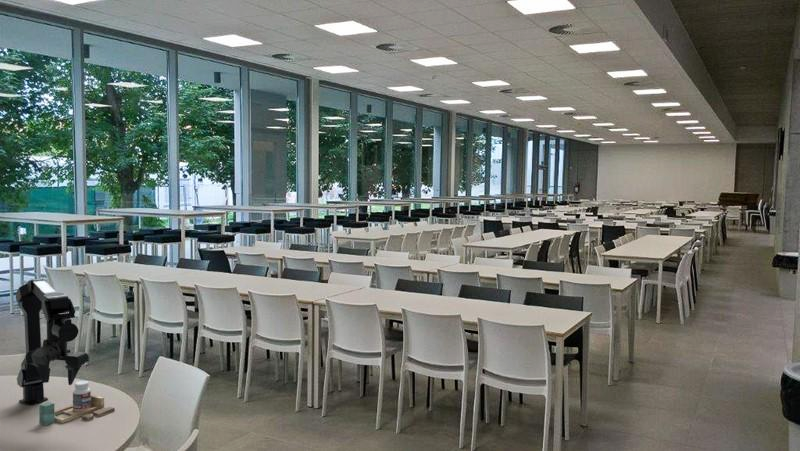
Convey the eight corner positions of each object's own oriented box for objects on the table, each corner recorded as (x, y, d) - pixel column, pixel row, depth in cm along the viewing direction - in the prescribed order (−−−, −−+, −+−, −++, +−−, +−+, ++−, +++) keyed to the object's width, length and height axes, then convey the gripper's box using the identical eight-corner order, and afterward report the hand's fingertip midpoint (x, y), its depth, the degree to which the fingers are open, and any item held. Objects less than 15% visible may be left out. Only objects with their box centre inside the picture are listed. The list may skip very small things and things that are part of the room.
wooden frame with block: (33, 421, 199) (32, 402, 199) (86, 403, 216) (85, 385, 216) (52, 426, 195) (51, 408, 195) (104, 407, 212) (104, 390, 212)
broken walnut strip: (81, 419, 202) (81, 416, 202) (108, 409, 211) (108, 406, 211) (88, 420, 201) (88, 417, 201) (114, 410, 210) (114, 408, 210)
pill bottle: (83, 412, 207) (82, 385, 206) (69, 410, 208) (68, 384, 207) (94, 406, 212) (93, 381, 211) (80, 405, 213) (80, 379, 212)
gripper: (11, 339, 192) (12, 388, 194) (64, 344, 189) (65, 394, 190) (38, 330, 203) (39, 377, 205) (89, 335, 200) (90, 383, 201)
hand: (57, 383), depth 200 cm, fingers open, 9 cm apart
